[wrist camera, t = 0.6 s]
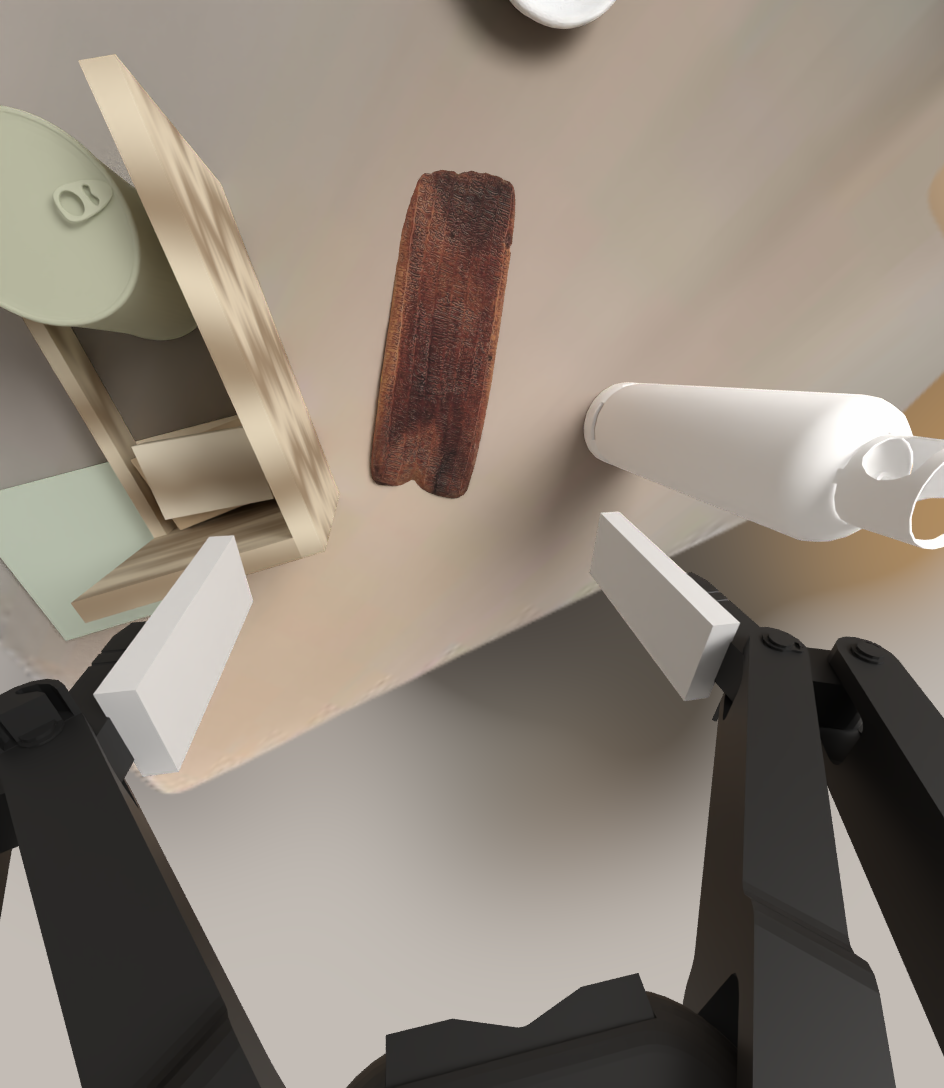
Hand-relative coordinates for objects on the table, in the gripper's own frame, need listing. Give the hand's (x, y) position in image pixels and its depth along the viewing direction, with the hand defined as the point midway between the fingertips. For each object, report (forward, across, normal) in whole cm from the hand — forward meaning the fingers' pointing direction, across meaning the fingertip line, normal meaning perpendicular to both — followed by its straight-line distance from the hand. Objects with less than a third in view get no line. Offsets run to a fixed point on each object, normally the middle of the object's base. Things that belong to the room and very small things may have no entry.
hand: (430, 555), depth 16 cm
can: (+28, -18, +10) cm, 35 cm away
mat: (+24, -28, -12) cm, 39 cm away
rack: (+26, -17, +2) cm, 31 cm away
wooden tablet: (+29, +4, +4) cm, 29 cm away
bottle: (+28, +22, -3) cm, 35 cm away
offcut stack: (+26, -16, -5) cm, 30 cm away
